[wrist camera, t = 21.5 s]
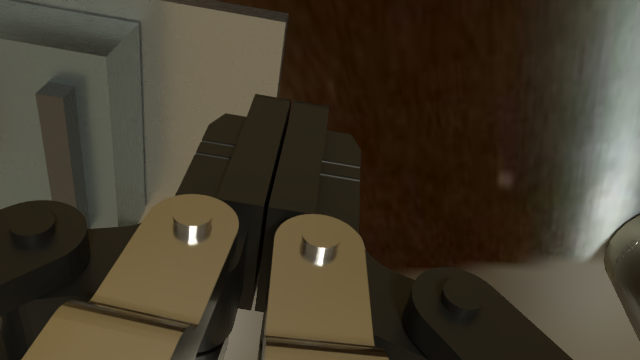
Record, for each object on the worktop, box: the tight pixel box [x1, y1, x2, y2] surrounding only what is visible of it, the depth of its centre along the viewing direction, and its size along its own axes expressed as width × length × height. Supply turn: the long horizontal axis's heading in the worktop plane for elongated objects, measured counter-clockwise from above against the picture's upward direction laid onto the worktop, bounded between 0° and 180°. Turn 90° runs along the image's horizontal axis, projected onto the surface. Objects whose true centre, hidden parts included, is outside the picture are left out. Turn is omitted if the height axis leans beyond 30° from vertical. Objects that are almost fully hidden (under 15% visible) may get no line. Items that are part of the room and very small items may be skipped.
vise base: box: [9, 0, 289, 223], centre depth 35 cm, size 30×17×6 cm, turn 81°
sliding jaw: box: [0, 0, 145, 229], centre depth 34 cm, size 10×14×6 cm
